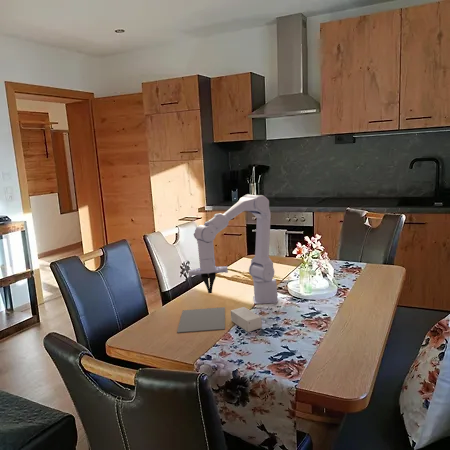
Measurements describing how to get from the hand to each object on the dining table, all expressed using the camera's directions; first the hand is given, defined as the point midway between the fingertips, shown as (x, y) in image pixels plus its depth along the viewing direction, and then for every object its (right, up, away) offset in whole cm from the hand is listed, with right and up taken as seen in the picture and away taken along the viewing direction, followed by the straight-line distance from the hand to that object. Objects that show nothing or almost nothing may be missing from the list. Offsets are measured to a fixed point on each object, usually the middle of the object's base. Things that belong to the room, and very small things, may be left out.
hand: (210, 292), depth 157 cm
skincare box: (+10, -8, -1) cm, 13 cm away
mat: (-3, -11, +1) cm, 11 cm away
